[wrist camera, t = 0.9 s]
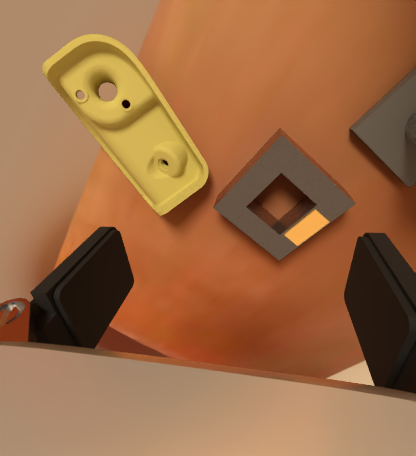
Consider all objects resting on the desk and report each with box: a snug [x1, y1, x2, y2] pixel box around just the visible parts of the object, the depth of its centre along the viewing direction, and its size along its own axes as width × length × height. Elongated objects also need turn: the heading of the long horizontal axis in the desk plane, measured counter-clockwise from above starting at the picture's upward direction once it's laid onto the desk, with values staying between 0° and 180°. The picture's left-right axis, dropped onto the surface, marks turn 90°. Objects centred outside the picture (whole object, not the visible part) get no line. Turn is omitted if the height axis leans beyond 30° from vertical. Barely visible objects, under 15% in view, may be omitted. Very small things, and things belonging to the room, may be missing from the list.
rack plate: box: [213, 128, 355, 261], centre depth 34 cm, size 12×12×4 cm
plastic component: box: [42, 34, 208, 216], centre depth 33 cm, size 20×7×10 cm
